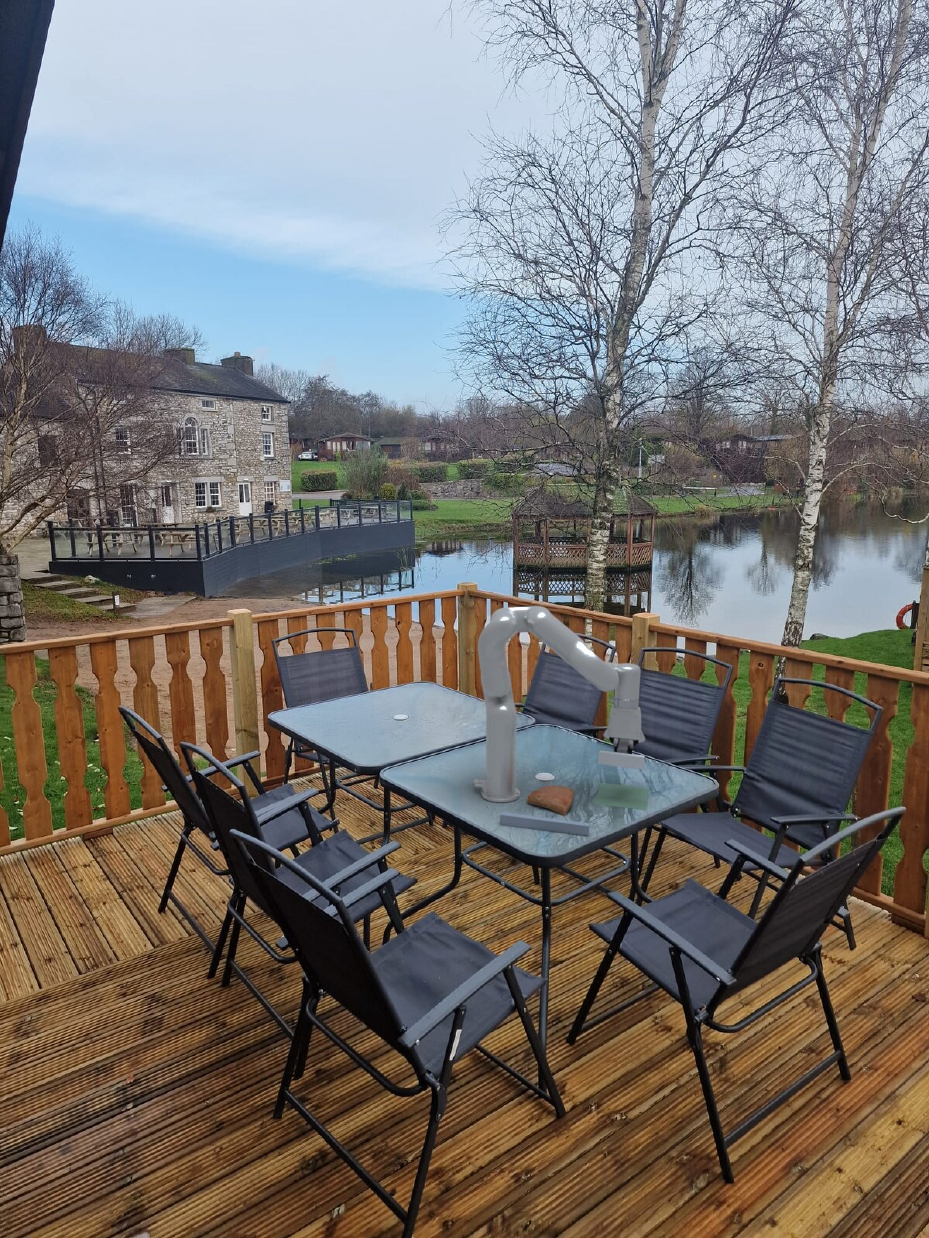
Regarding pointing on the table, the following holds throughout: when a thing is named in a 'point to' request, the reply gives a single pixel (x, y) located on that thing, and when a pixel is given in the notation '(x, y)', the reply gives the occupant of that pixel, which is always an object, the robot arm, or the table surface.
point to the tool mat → (622, 796)
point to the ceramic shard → (552, 798)
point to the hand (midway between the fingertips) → (622, 757)
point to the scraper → (621, 757)
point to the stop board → (544, 823)
